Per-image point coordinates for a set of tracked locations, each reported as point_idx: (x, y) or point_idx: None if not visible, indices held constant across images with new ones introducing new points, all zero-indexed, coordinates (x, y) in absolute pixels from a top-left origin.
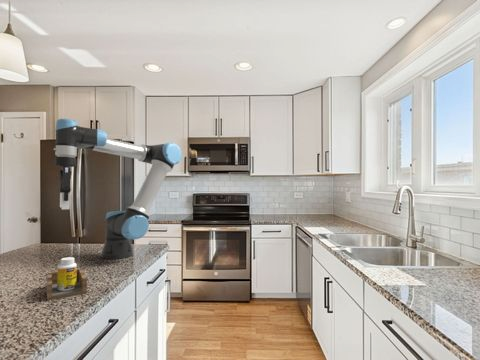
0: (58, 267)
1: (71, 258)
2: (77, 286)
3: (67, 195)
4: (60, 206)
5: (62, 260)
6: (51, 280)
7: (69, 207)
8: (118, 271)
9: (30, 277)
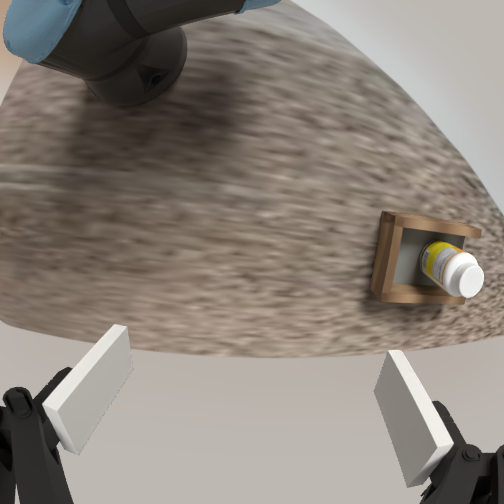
0: (461, 295)
1: (478, 273)
2: (435, 235)
3: (455, 436)
4: (130, 369)
5: (475, 294)
6: (442, 296)
7: (404, 358)
8: (348, 99)
9: (251, 312)
